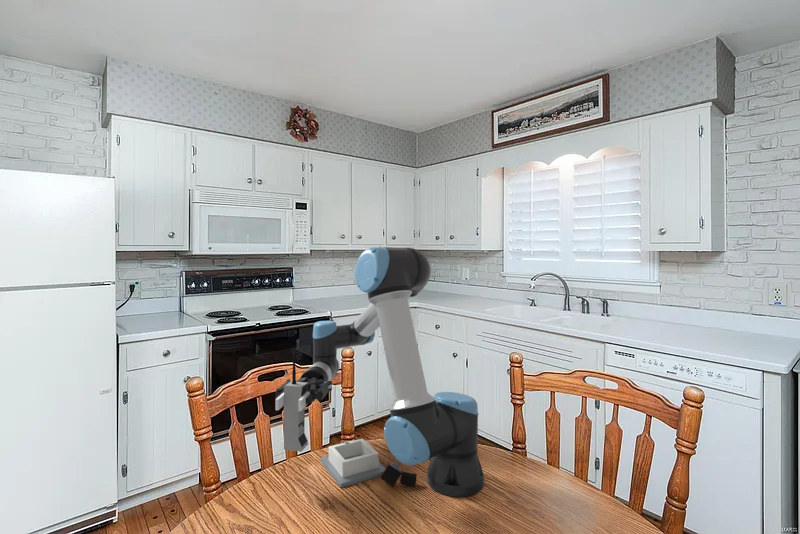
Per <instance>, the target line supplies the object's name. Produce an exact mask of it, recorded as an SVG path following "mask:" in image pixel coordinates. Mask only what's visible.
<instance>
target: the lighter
mask: <svg viewBox="0 0 800 534" xmlns="http://www.w3.org/2000/svg"><path fill="white" fill-rule="evenodd" d="M400 466H401V462H400V461H398V460H397V461H392V462H388V464H387V465H386V466H385V468H386V469H385V470H384V472H383V473H382V474H381V476H379V477H380V478H379V479H380V480H382V481H384V482H385V483H387V484H388V485H390V486H391V487H394V486H395V485H396V484H397V481H399V485H402V486H404V487H409V488H413V487H416V485H417V484H416V483H417V477H418V474H417V473H412V472H409V471H404V470H403V469H402V468H400ZM399 479H400V480H399Z"/></svg>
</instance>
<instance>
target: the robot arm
mask: <svg viewBox="0 0 800 534" xmlns="http://www.w3.org/2000/svg"><path fill="white" fill-rule="evenodd" d="M354 270H355V271H354V280H355V282H356V283H355V284H356V286H357V287H358V288H359V290H360V291H361V292H364V294H365V293H367V297H368V302H370V303H369V304H368V306H366V307H365V309H364V310H363V311H362V312H361V313H360V314H359V316H357V317H356V318H355V320H354V321H352V323H350V324H343V325H337V322H336V321H334V320H319V321H316V322H315V323H314V324H313V328H312V329H313V330H312V350H313V354H312V365H310V367H308V368H307V369H306V370H305V371H304V372H303V373H302V374H301V376H300V377H299V379H296V382H306V383H308V389H307V392H306V393H305V394H304V395H303V396H302V397H301V398H300V399H299V400H298V411H302V410H303V409H304V408H306V406H307V405H310V404H312V402H314V401H316V400H317V401H318V402H321V401H323V399H324V398H325V397H326V395H327V394H328V393H329V392H330V391H332V390H333V381H332V380H333V379H334V378H335V377H337V374H338V371H339V369H340V362H339V360H338V357H337V354H338V353H337V351H338V349H339V350H340V349H344V348H349V347H350V348H351V347H357V346H364V345H366V344H367V345H368V344H371V343H372V342H373V341H374V340H375V339H374V337H376V336H375V335H376V331H377V330H378V329H379V328H380V329H379V330H380V333H381V334H380V335H381V341H382V346H383V349H384V355H385V360H386V364H387V365H386V366H387V370H388V375H389V376H388V377H389V380H390V386H391V391H392V395H393V401H392V403H391V405H390V407H389V412H390V417H389V418H388V419H387V421H386V422H385V424H384V427H383V436H384V440H385V443H386V446H387V447H388V450H389V451H390V453H391V455H392V456H393V457H395V459H396V460H397V462H399V463H400V464H403V465H404V466H405V465H406V466H415V465H418V464H420V463H422V464H423V463H425V462H427V461H429V460H430V462H429V465H428V466H427V471H426V482H427V484H428V485H429V487H430V488H431V489H432V490H434V491H435V492H437V493H440V494H441V495H444V496H449V497H454V498H455V497H461V498H463V497H470V496H473V495H475V494H477V493H479V492H481V490H482V489H483V488H484V486H485V485H484V484H485V475H484V471H483V468H482V464H481V462H480V461H481V460H480V458H479V454H478V441H479V440H478V434H479V433H478V431H479V427H478V426H479V425H478V423H479V422H478V421H479V415H480V414H479V409H478V408H479V407H478V402H477V401H476V399H475V398H473V397H472V396H470V395H467V394H464V393H459V392H453V391H452V392H451V391H440V392H436V393H435V394H434V396H432V395H431V394H430V393H429V391H428V389H427V384H426V378H425V374H424V370H423V365H422V360H421V356H420V351H419V347H418V345H419V344H418V341H417V336H416V332H415V327H414V323H413V322H414V321H413V317H412V313H411V308H410V303H409V298H414V297H416V296H418V295H419V294H420V292H422V290H424V289H425V287H426V286H427V284H428V282H429V280H430V277H431V272H432V271H431V264H430V261H429V260H428V257H427V256H426V255H425V254H424V253H423V252H422V251H420V250H419V249H417V248H414V247H413V248H412V247H392V246H391V247H388V246H387V247H385V246H377V247H369V248H367V249H365V250H364V251H363V252H361V254H360V255H359V257H358V260H357V262H356V265H355V269H354ZM291 381H292V380H291V379H286V381H285V382H284V383H283V384H281V385H280V386H279V387H278V388H276V389H275V403H274V404H275V407H274V408H275V411H279V410H281V409H282V408H284V386H285V385H287V384H288V383H290V382H291Z"/></svg>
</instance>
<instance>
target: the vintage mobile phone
mask: <svg viewBox="0 0 800 534" xmlns="http://www.w3.org/2000/svg"><path fill="white" fill-rule="evenodd" d="M296 373H297V372H296V352H295V351H292V373H291V374H292V380H291V382H290V383H288V384H287V385H285V386H284V406H283V450H284V451H293V452H294V451H295V452H302V451H303V450H305V448H306V447H307V446H308V444H309V441H308V437H307V436H306V433H305V423H306V422H305V415H306V414H305V410H306V409H305V408H306V407H305V408H304V409H303V410H302V411H298V400H299V399H300V398H301V397H302V396H303V395H304V394H305V393H306V392H307V389H308V383H306V382H296V380H297V377H296V376H297V374H296Z"/></svg>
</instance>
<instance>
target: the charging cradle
mask: <svg viewBox="0 0 800 534" xmlns="http://www.w3.org/2000/svg"><path fill="white" fill-rule="evenodd" d="M379 455H380V454H379V452H378V451H376V449H374V447H372V445H370V444H369V443H368V442H367V441H366V440H365V438H359V439H355V440H350V441H345V442H342V443H338V444H334V445H329V446H328V455H326V456H322V457H320V459H319V462H320V463H321V462H322V463H321V464H322V466H323V467H324V468H325V469H326V470H327V472H328V473H329V474H330V476H331V477H332V478H333V480H334V482H335V483H336V484H337V485H338V487H339V488H344V487H347V486H353V485H354V484H358V483H361V482H365V481H368V480H371V479H375V478H379V477H381V474H382V473H383V472H384V470H385V469H386V466H385V465H383V464H382V463H381V462H380V461H379V457H380V456H379Z"/></svg>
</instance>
